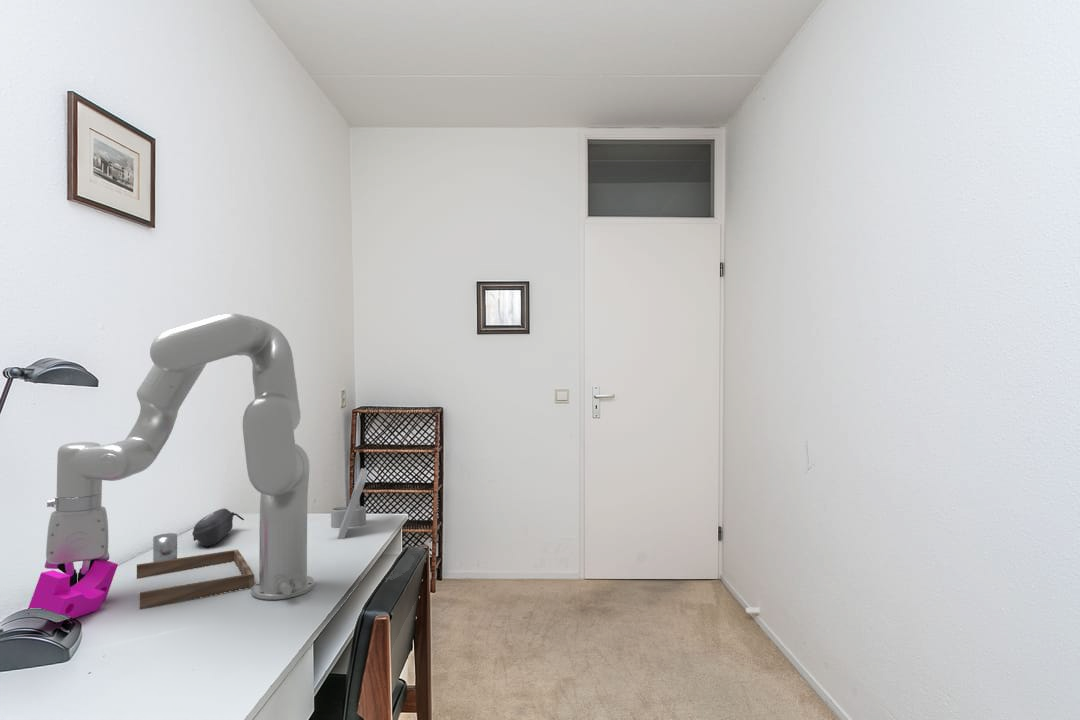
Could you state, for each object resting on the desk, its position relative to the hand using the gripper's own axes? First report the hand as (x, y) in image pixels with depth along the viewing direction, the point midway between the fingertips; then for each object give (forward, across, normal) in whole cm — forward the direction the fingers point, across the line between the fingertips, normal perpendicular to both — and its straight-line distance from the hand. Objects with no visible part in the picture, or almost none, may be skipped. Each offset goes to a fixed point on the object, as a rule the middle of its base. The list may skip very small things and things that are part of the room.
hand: (77, 593), depth 129 cm
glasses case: (+2, +30, +33) cm, 45 cm away
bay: (+2, +21, 0) cm, 21 cm away
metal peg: (+2, +17, +18) cm, 24 cm away
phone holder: (+1, +62, +19) cm, 64 cm away
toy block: (+1, 0, -7) cm, 7 cm away
